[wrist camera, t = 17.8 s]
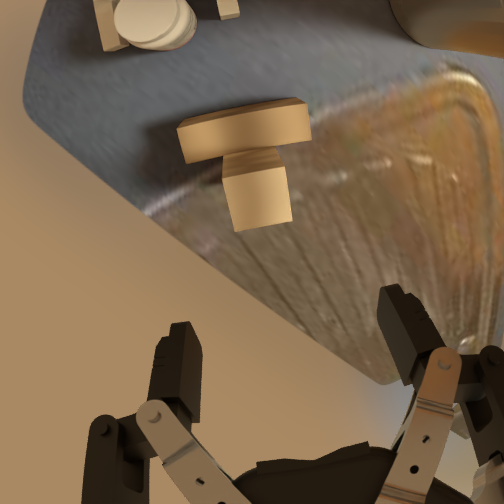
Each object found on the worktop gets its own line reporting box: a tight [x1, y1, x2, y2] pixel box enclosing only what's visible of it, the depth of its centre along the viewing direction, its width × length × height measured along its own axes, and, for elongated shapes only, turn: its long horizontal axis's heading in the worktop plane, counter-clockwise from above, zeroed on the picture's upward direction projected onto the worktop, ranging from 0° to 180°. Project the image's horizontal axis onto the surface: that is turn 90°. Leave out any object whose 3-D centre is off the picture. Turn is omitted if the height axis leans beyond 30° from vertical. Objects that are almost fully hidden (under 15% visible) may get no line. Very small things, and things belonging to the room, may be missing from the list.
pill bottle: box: [114, 0, 197, 51], centre depth 17 cm, size 5×5×8 cm
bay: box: [93, 0, 240, 51], centre depth 18 cm, size 11×6×2 cm, turn 100°
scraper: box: [177, 98, 312, 232], centre depth 23 cm, size 10×7×9 cm
